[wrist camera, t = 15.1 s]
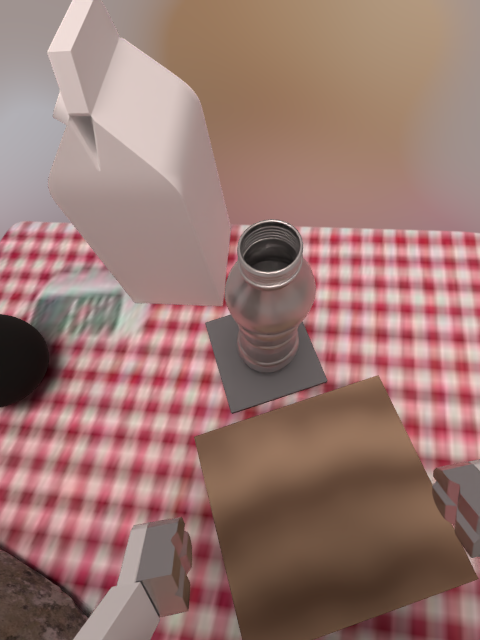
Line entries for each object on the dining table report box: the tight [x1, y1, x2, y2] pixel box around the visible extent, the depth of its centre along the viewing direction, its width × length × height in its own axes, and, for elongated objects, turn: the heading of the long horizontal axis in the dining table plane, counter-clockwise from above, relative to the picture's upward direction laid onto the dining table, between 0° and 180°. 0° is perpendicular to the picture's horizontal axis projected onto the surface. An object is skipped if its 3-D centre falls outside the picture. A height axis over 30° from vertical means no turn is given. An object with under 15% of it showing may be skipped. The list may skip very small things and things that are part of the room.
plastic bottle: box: [225, 219, 316, 373], centre depth 26 cm, size 6×7×20 cm
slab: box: [194, 375, 478, 640], centre depth 28 cm, size 16×18×6 cm
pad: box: [205, 315, 327, 414], centre depth 36 cm, size 11×11×1 cm
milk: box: [47, 0, 231, 306], centre depth 30 cm, size 12×12×26 cm
